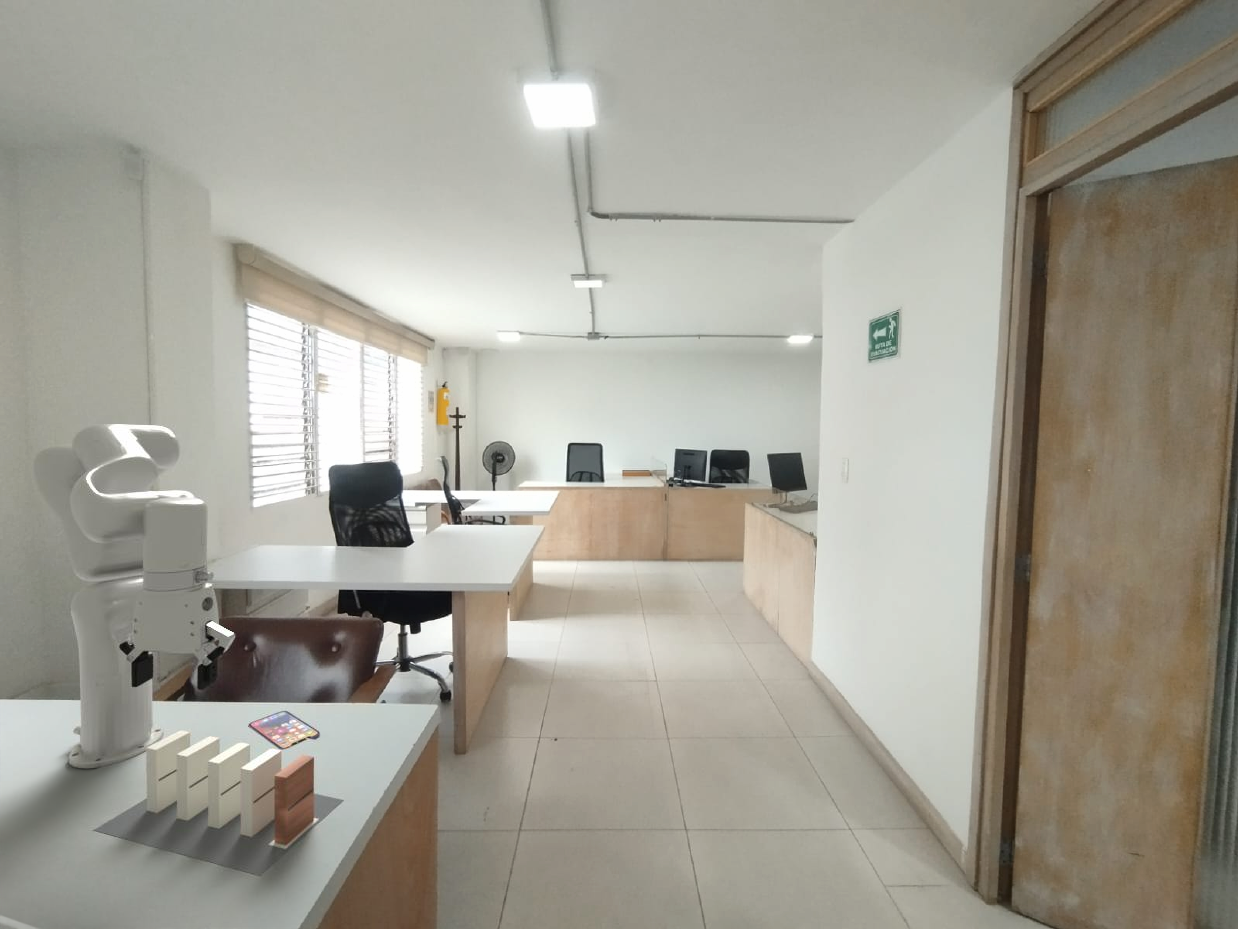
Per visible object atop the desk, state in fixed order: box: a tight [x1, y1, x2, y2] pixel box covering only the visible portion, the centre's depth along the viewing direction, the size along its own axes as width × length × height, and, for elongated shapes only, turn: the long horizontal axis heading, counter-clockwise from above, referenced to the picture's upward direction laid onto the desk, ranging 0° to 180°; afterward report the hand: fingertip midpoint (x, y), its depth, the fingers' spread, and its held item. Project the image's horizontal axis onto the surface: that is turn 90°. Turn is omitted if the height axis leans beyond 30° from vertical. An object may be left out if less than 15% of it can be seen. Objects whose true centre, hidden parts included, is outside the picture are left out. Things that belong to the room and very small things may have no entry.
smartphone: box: [247, 710, 321, 750], centre depth 103 cm, size 1×7×15 cm
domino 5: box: [274, 754, 315, 845], centre depth 77 cm, size 2×5×10 cm, turn 168°
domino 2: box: [177, 735, 221, 821], centre depth 81 cm, size 2×5×10 cm, turn 167°
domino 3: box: [208, 742, 251, 829], centre depth 79 cm, size 2×5×10 cm, turn 167°
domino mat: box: [92, 793, 345, 876], centre depth 80 cm, size 30×15×1 cm, turn 77°
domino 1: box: [145, 729, 191, 813], centre depth 82 cm, size 2×5×10 cm, turn 167°
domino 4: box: [241, 748, 282, 837], centre depth 78 cm, size 2×5×10 cm, turn 167°
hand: (174, 684), depth 81 cm, fingers open, 9 cm apart
